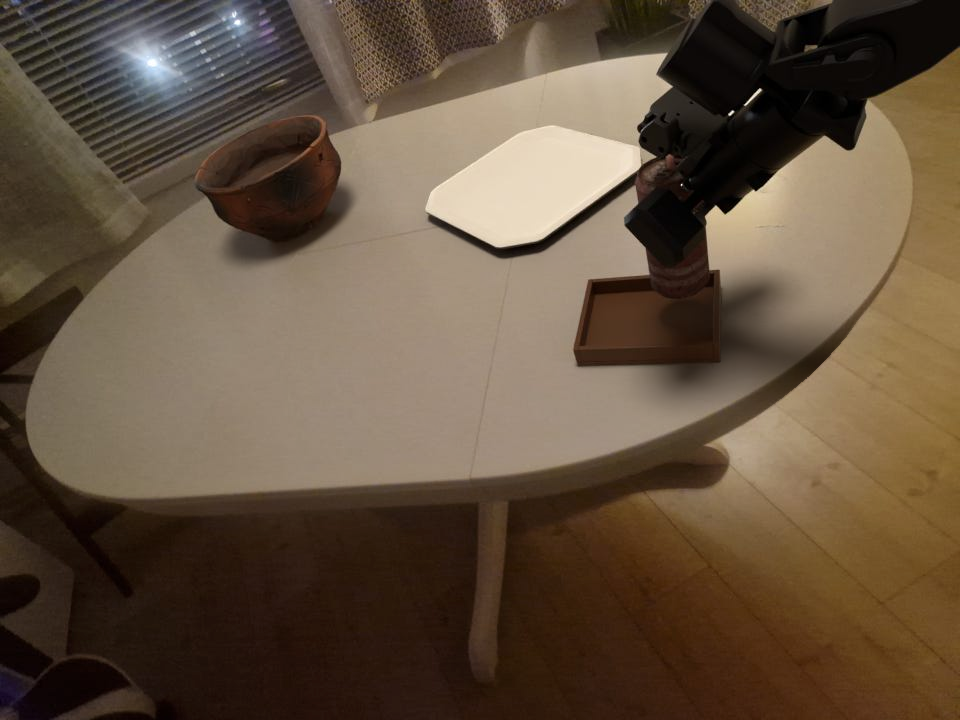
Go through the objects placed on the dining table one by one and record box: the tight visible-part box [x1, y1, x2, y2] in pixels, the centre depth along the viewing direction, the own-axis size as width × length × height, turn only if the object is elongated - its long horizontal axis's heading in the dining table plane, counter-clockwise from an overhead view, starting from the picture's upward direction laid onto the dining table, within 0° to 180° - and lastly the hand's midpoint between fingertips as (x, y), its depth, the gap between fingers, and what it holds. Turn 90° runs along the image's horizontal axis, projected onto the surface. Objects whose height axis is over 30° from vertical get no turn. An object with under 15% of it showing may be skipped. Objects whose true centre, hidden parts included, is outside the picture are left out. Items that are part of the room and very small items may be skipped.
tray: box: [572, 269, 722, 367], centre depth 74 cm, size 15×12×3 cm
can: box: [634, 154, 710, 299], centre depth 66 cm, size 6×6×14 cm
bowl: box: [194, 114, 342, 243], centre depth 116 cm, size 25×25×15 cm
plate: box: [424, 124, 643, 250], centre depth 103 cm, size 29×29×2 cm
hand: (662, 224), depth 67 cm, fingers closed on can, 5 cm apart
